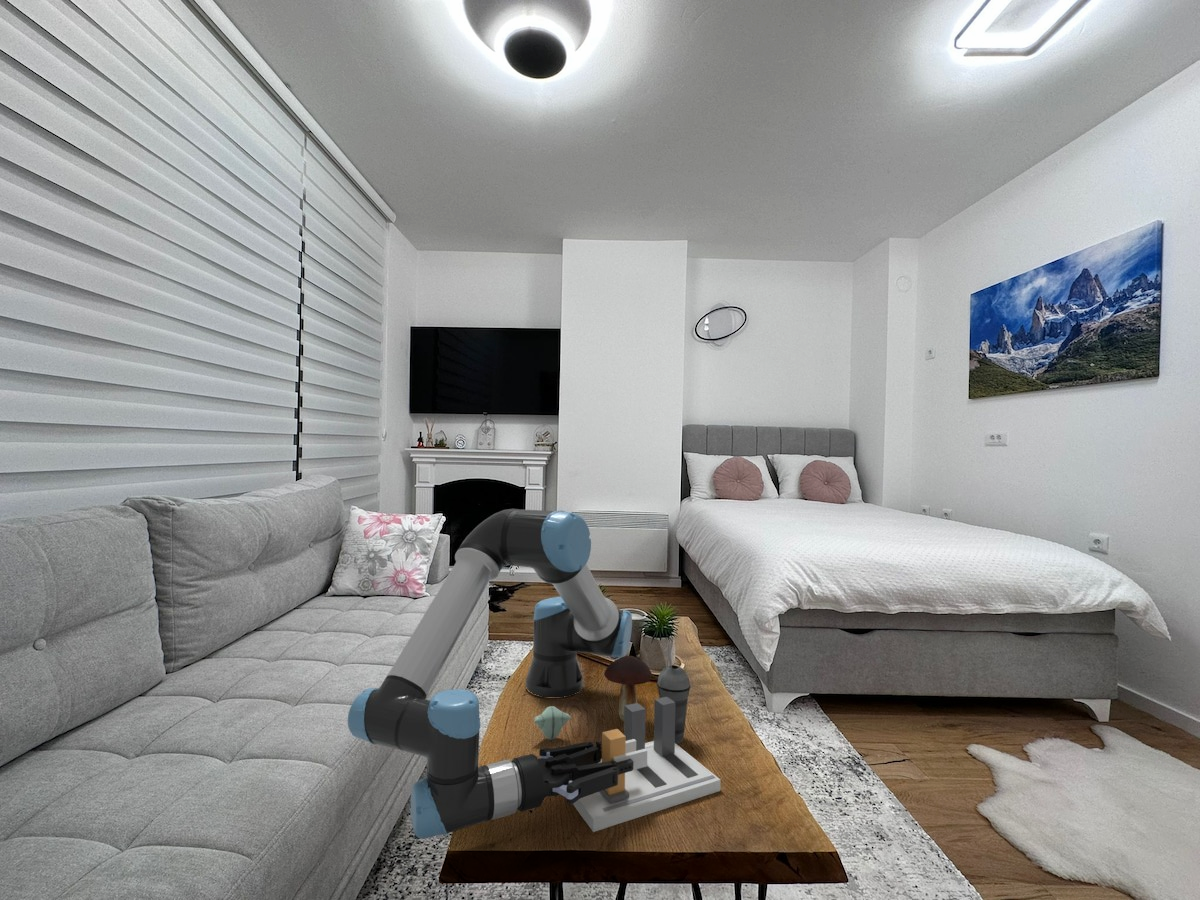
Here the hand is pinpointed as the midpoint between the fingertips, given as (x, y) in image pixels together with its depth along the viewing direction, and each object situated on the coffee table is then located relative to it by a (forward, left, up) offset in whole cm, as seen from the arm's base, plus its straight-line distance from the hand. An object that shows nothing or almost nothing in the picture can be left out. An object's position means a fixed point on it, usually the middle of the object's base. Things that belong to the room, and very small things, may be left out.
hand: (640, 752), depth 97 cm
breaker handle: (0, -5, -6) cm, 8 cm away
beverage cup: (-15, +18, -8) cm, 24 cm away
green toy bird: (-26, -6, -8) cm, 28 cm away
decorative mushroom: (-26, +13, -8) cm, 30 cm away
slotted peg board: (-4, +2, -8) cm, 9 cm away
